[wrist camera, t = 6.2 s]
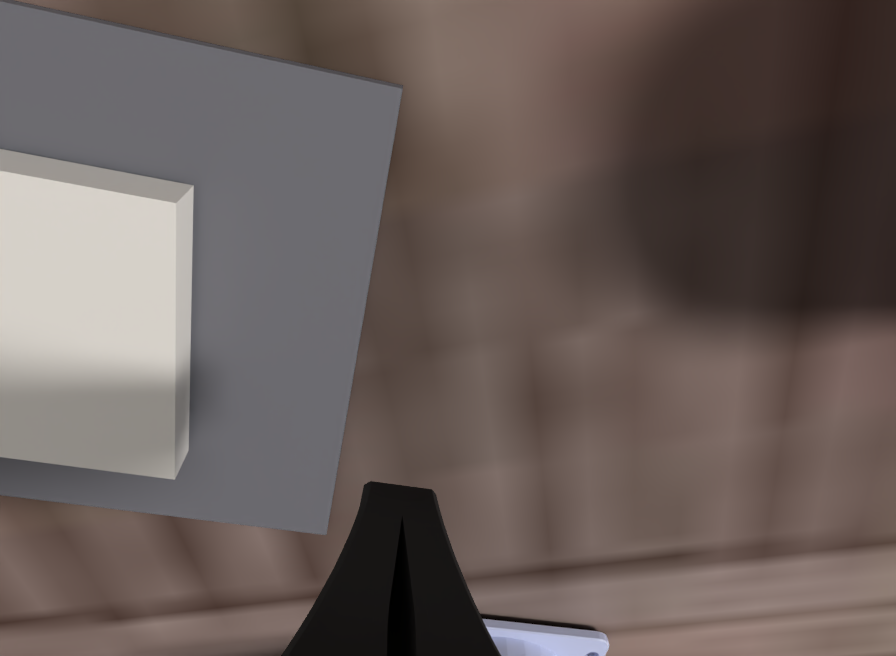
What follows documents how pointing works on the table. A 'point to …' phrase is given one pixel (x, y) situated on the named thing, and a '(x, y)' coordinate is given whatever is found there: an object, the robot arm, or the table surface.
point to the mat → (223, 246)
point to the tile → (94, 316)
